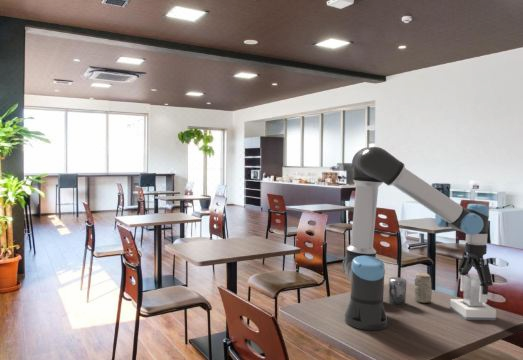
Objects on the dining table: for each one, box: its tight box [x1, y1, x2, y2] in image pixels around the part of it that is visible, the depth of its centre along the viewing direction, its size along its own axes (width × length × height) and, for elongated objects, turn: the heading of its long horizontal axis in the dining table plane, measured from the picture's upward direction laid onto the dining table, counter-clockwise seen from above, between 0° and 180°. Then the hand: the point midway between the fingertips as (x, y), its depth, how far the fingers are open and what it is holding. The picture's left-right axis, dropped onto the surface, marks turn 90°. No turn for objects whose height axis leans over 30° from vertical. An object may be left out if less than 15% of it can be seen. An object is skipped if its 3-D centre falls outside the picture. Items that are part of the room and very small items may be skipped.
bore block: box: [449, 298, 497, 321], centre depth 166 cm, size 12×12×4 cm
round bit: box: [387, 276, 407, 307], centre depth 176 cm, size 7×7×10 cm
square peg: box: [462, 274, 483, 308], centre depth 165 cm, size 5×5×14 cm
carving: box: [413, 272, 433, 304], centre depth 179 cm, size 6×8×12 cm
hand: (473, 296), depth 165 cm, fingers open, 13 cm apart
